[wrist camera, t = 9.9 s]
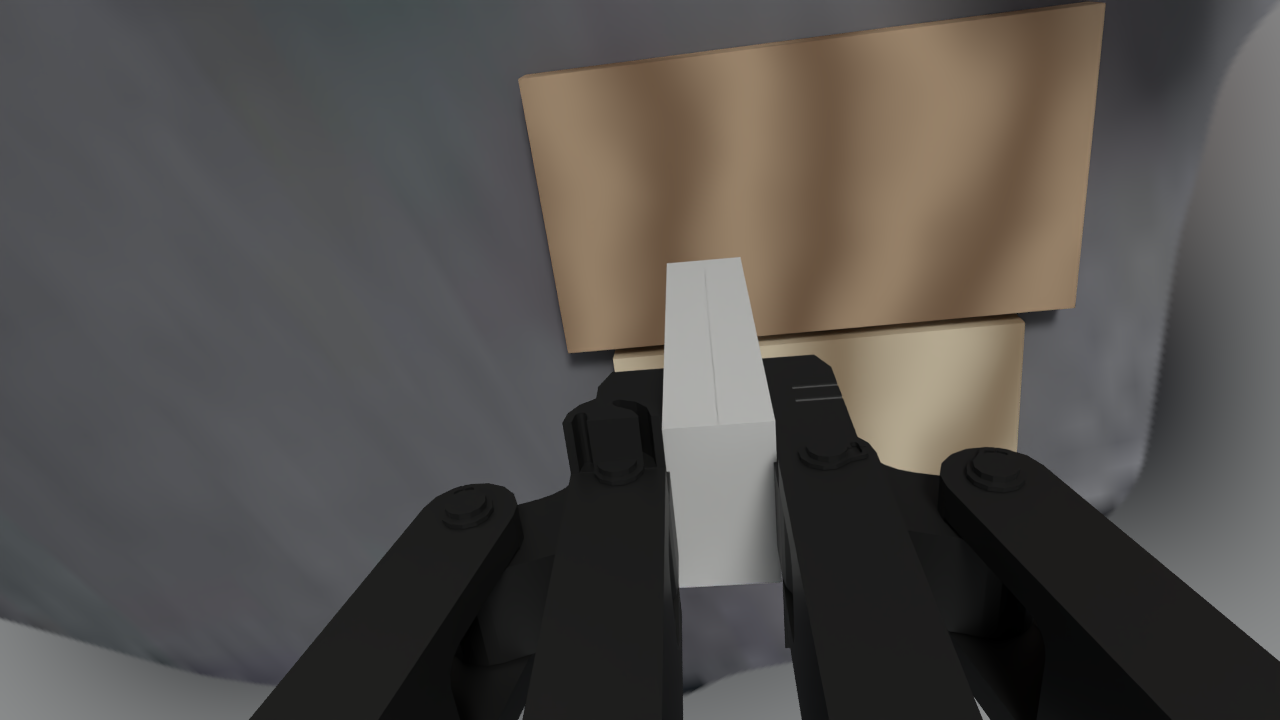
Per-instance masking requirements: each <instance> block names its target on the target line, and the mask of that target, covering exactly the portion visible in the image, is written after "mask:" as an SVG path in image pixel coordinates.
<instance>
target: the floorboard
mask: <svg viewBox="0 0 1280 720" xmlns="http://www.w3.org/2000/svg"><path fill="white" fill-rule="evenodd" d="M1105 5H1106V3H1100V2H1089V1H1088V2H1080V3H1072V4H1065V5H1057V6H1049V7H1042V8H1034V9H1026V10H1019V11H1011V12H1003V13H996V14H988V15H980V16H973V17H965V18H957V19H949V20H942V21H934V22H926V23H919V24H911V25H903V26H896V27H888V28H880V29H873V30H865V31H857V32H850V33H842V34H834V35H827V36H819V37H811V38H804V39H796V40H788V41H781V42H773V43H765V44H758V45H750V46H742V47H735V48H727V49H719V50H712V51H704V52H696V53H689V54H681V55H673V56H666V57H658V58H650V59H643V60H635V61H627V62H620V63H612V64H604V65H597V66H589V67H581V68H574V69H566V70H558V71H551V72H543V73H535V74H528V75H524V76H523V77H521V78H520V79H518V80H519V86H520V91H521V97H522V102H523V108H524V113H525V119H526V124H527V130H528V135H529V141H530V146H531V152H532V157H533V163H534V168H535V174H536V179H537V185H538V190H539V196H540V201H541V207H542V212H543V218H544V223H545V229H546V234H547V239H548V245H549V250H550V256H551V261H552V267H553V272H554V278H555V283H556V289H557V294H558V300H559V305H560V311H561V316H562V322H563V327H564V333H565V338H566V344H567V349H568V353H577V352H588V351H599V350H610V349H621V348H633V347H644V346H655V345H664V343H665V310H666V277H667V263H677V262H689V261H700V260H712V259H723V258H734V257H740V258H741V262H742V267H743V272H744V276H745V281H746V286H747V291H748V295H749V300H750V305H751V309H752V314H753V319H754V323H755V328H756V333H757V336H766V335H777V334H788V333H800V332H811V331H822V330H833V329H844V328H855V327H866V326H878V325H889V324H900V323H911V322H922V321H933V320H944V319H955V318H967V317H978V316H989V315H1000V314H1011V313H1022V312H1033V311H1045V310H1056V309H1067V308H1075V301H1076V291H1077V281H1078V271H1079V262H1080V252H1081V242H1082V232H1083V222H1084V212H1085V202H1086V193H1087V183H1088V173H1089V163H1090V153H1091V143H1092V133H1093V124H1094V114H1095V104H1096V94H1097V84H1098V74H1099V64H1100V55H1101V45H1102V35H1103V25H1104V15H1105Z"/></svg>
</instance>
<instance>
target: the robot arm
mask: <svg viewBox="0 0 1280 720" xmlns="http://www.w3.org/2000/svg"><path fill="white" fill-rule="evenodd" d="M562 424H563V430H564V435H565V441H566V447H567V453H568V459H569V465H570V471H571V477H570V482H569V486H567V487H566V488H564V489H563V490H561V491H559V492H557V493H555V494H553V495H550V496H547V497H544V498H541V499H538V500H534V501H531V502H527V503H523V504H520V505H517V502H516V499H515V496H514V494H513V493H512V492H510V491H509V490H508V489H506V488H505V487H503V486H498V485H494V484H490V483H486V484H469V485H464V486H460V487H457V488H454V489H452V490H450V491H448V492H446V493H444V494H442V495H440V496H438V497H436V498H435V499H434V500H432V501H431V502H430V503H429V504H428V505H427V506H425V507H424V508H423V510H422V511H421V512H420V513H419V514H418V516H417V517H416V518H415V519H414V520H413V522H412V523H411V524H410V525H409V526H408V528H407V529H406V530H405V531H404V533H403V534H402V535H401V536H400V537H399V539H398V540H397V541H396V542H395V543H394V545H393V546H392V547H391V548H390V550H389V551H388V552H387V553H386V554H385V556H384V557H383V558H382V559H381V560H380V562H379V563H378V564H377V565H376V566H375V568H374V569H373V570H372V571H371V573H370V574H369V575H368V576H367V577H366V579H365V580H364V581H363V582H362V583H361V585H360V586H359V587H358V588H357V590H356V591H355V592H354V593H353V594H352V596H351V597H350V598H349V599H348V600H347V602H346V603H345V604H344V605H343V606H342V608H341V609H340V610H339V611H338V613H337V614H336V615H335V616H334V617H333V619H332V620H331V621H330V622H329V623H328V625H327V626H326V627H325V628H324V629H323V631H322V632H321V633H320V634H319V636H318V637H317V638H316V639H315V640H314V642H313V643H312V644H311V645H310V646H309V648H308V649H307V650H306V651H305V653H304V654H303V655H302V656H301V657H300V659H299V660H298V661H297V662H296V663H295V665H294V666H293V667H292V668H291V669H290V671H289V672H288V673H287V674H286V676H285V677H284V678H283V679H282V680H281V682H280V683H279V684H278V685H277V686H276V688H275V689H274V690H273V691H272V693H271V694H270V695H269V696H268V697H267V699H266V700H265V701H264V702H263V704H262V705H261V706H260V707H259V708H258V709H257V711H256V712H255V713H254V714H253V716H252V717H251V718H250V719H249V720H518V719H519V716H520V714H521V712H522V710H523V708H524V706H525V710H524V715H523V720H683V676H682V611H681V602H680V593H679V588H686V587H704V586H722V585H740V584H758V583H777V582H782V578H781V571H782V577H783V600H784V626H785V648H790V649H791V655H792V661H793V668H794V674H795V680H796V686H797V692H798V699H799V705H800V711H801V717H802V720H983V719H982V716H981V714H980V711H979V709H978V706H977V704H976V702H975V699H976V700H977V702H978V703H979V704H980V706H981V707H982V708H983V710H984V711H985V713H986V714H987V716H988V717H989V718H990V720H1280V661H1278V660H1277V659H1276V658H1275V657H1274V656H1272V655H1271V654H1270V653H1269V652H1268V651H1266V650H1265V649H1264V648H1263V647H1262V646H1260V645H1259V644H1258V643H1257V642H1255V641H1254V640H1253V639H1252V638H1250V636H1248V635H1247V634H1246V633H1245V632H1243V631H1242V630H1241V629H1240V628H1238V627H1237V626H1236V625H1235V624H1234V623H1233V622H1231V621H1230V620H1229V619H1228V618H1227V617H1225V616H1224V615H1223V614H1222V613H1221V612H1219V611H1218V610H1217V609H1216V608H1215V607H1213V606H1212V605H1211V604H1210V603H1209V602H1207V601H1206V600H1205V599H1204V598H1203V597H1201V596H1200V595H1199V594H1198V593H1197V592H1195V591H1194V590H1193V589H1192V588H1191V587H1189V586H1188V585H1187V584H1186V583H1185V582H1183V581H1182V580H1181V579H1180V578H1178V577H1177V576H1176V575H1175V574H1174V573H1172V572H1171V571H1170V570H1169V569H1168V568H1166V567H1165V566H1164V565H1163V564H1162V563H1160V562H1159V561H1158V560H1157V559H1156V558H1154V557H1153V556H1152V555H1151V554H1150V553H1148V552H1147V551H1146V550H1145V549H1144V548H1142V547H1141V546H1140V545H1139V544H1138V543H1136V542H1135V541H1134V540H1133V539H1132V538H1130V537H1129V536H1128V535H1127V534H1125V533H1124V532H1123V531H1122V530H1121V529H1119V528H1118V527H1117V526H1116V525H1115V524H1113V523H1112V522H1111V521H1110V520H1109V519H1107V518H1106V517H1105V516H1104V515H1103V514H1101V513H1100V512H1099V511H1098V510H1097V509H1095V508H1094V507H1093V506H1092V505H1091V504H1089V503H1088V502H1087V501H1086V500H1085V499H1083V498H1082V497H1081V496H1080V495H1079V494H1077V493H1076V492H1075V491H1074V490H1073V489H1071V488H1070V487H1069V486H1068V485H1067V484H1065V483H1064V482H1063V481H1062V480H1061V479H1059V478H1058V477H1057V476H1056V475H1054V474H1053V473H1052V472H1051V471H1050V470H1048V469H1047V468H1046V467H1045V466H1044V465H1042V464H1041V463H1039V462H1037V461H1036V460H1034V459H1032V458H1030V457H1029V456H1027V455H1024V454H1021V453H1018V452H1014V451H1011V450H1008V449H1003V448H994V447H980V448H968V449H964V450H961V451H959V452H956V453H953V454H951V455H950V456H948V457H947V458H946V459H945V460H944V461H943V462H942V463H941V469H940V475H932V474H924V473H916V472H910V471H905V470H900V469H896V468H893V467H890V466H887V465H885V464H883V463H881V462H880V460H879V457H878V455H877V452H876V451H875V450H874V449H873V447H872V446H871V445H870V444H869V443H868V442H866V441H865V440H863V439H861V438H859V437H858V436H857V434H856V431H855V428H854V426H853V423H852V420H851V418H850V415H849V412H848V410H847V407H846V405H845V402H844V399H843V398H842V394H841V391H840V389H839V386H838V385H837V381H836V378H835V375H834V373H833V370H832V367H831V366H829V365H828V364H827V363H825V362H824V361H822V360H821V359H820V358H818V357H817V356H816V355H814V354H813V355H800V356H787V357H774V358H762V356H761V352H760V347H759V342H758V338H757V333H756V328H755V323H754V319H753V314H752V309H751V305H750V300H749V295H748V291H747V286H746V281H745V276H744V272H743V267H742V262H741V258H740V257H734V258H723V259H712V260H700V261H689V262H677V263H667V277H666V310H665V343H664V368H660V369H647V370H634V371H621V372H612V373H611V374H610V375H609V376H608V377H607V378H606V379H605V380H604V381H603V383H602V384H601V385H600V386H599V387H598V392H597V397H596V399H594V400H591V401H589V402H586V403H583V404H581V405H579V406H578V407H576V408H575V409H573V410H572V411H571V412H569V413H568V414H567V416H566V418H565V419H564V421H563V423H562ZM974 697H975V699H974ZM525 704H526V705H525Z"/></svg>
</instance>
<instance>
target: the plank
mask: <svg viewBox="0 0 1280 720" xmlns="http://www.w3.org/2000/svg"><path fill="white" fill-rule="evenodd" d="M1024 331H1025V322H1024V321H1023V320H1022V319H1021V318H1020V317H1019V316H1018V315H1017V314H1016V313H1011V314H1000V315H989V316H978V317H967V318H955V319H944V320H933V321H922V322H911V323H900V324H889V325H878V326H866V327H855V328H844V329H833V330H822V331H811V332H800V333H788V334H777V335H766V336H757V338H758V342H759V347H760V352H761V356H762V358H774V357H787V356H800V355H813V354H814V355H816V356H817V357H818V358H820V359H821V360H822V361H824V362H825V363H827V364H828V365H829V366H831V367H832V370H833V373H834V375H835V378H836V381H837V385H838V386H839V389H840V391H841V394H842V398H843V399H844V402H845V405H846V407H847V410H848V412H849V415H850V418H851V420H852V423H853V426H854V428H855V431H856V434H857V436H858V437H859V438H861V439H863V440H865V441H866V442H868V443H869V444H870V445H871V446H872V447H873V449H874V450H875V451H876V452H877V455H878V457H879V460H880V462H881V463H883V464H885V465H887V466H890V467H893V468H896V469H900V470H905V471H910V472H916V473H924V474H932V475H940V469H941V463H942V462H943V461H944V460H945V459H946V458H947V457H948V456H950V455H951V454H953V453H956V452H959V451H961V450H964V449H968V448H980V447H994V448H1003V449H1008V450H1011V451H1014V452H1017V440H1018V424H1019V409H1020V393H1021V378H1022V362H1023V346H1024ZM613 363H614V369H615V372H621V371H634V370H647V369H660V368H664V345H655V346H644V347H633V348H621V349H615V353H614V357H613Z"/></svg>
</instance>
